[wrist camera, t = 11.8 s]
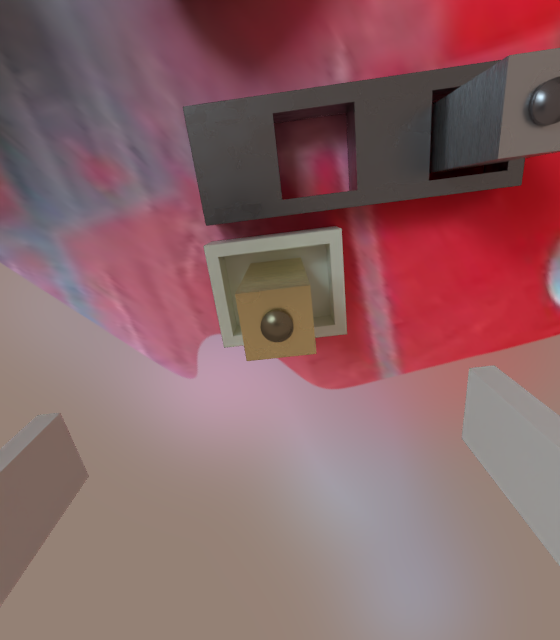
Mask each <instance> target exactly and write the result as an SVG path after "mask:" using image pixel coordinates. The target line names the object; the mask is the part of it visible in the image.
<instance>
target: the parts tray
mask: <svg viewBox="0 0 560 640" xmlns="http://www.w3.org/2000/svg"><path fill="white" fill-rule="evenodd" d="M204 251H205V256H206V261H207V266H208V271H209V276H210V281H211V286H212V291H213V296H214V301H215V306H216V310H217V315H218V320H219V325H220V330H221V335H222V340H223V345H224V348H225V347H234V346H243V345H244V343H243V337H242V331H241V326H240V320H239V315H238V309H237V303H236V298H235V293H236V291H237V289H238V287H239V285H240V283H241V281H242V279H243V277H244V275H245V273H246V271H247V269H248V267H249V265H250V264H251V263H259V262H267V261H275V260H284V259H292V258H300V257H301V260H302V262H303V265H304V268H305V271H306V274H307V277H308V280H309V283H310V288H311V299H312V310H313V321H314V332H315V338H317V337H326V336H335V335H344V334H347V322H346V302H345V283H344V264H343V245H342V229H341V228H339V227H337V226H331V227H323V228H315V229H307V230H299V231H291V232H283V233H275V234H267V235H259V236H251V237H243V238H235V239H227V240H220V241H212V242H210V243H208V244H206V245H204Z"/></svg>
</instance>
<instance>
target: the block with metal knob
mask: <svg viewBox="0 0 560 640" xmlns="http://www.w3.org/2000/svg"><path fill="white" fill-rule="evenodd" d="M235 298H236V303H237V309H238V315H239V320H240V326H241V331H242V337H243V343H244V348H245V353H246V359H247V361H251V360H262V359H271V358H280V357H290V356H299V355H309V354H316V343H315V332H314V321H313V310H312V299H311V288H310V283H309V280H308V277H307V274H306V271H305V268H304V265H303V262H302V260H301V257H300V258H292V259H284V260H275V261H267V262H259V263H251V264H250V265H249V267H248V269H247V271H246V273H245V275H244V277H243V279H242V281H241V283H240V285H239V287H238V289H237V291H236V293H235Z"/></svg>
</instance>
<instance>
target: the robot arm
mask: <svg viewBox="0 0 560 640" xmlns="http://www.w3.org/2000/svg"><path fill="white" fill-rule="evenodd" d="M462 439H463V441H464V442H465V443H466V445H467V446H468V447H469V449H470V450H471V451H472V453H473V454H474V455H475V456H476V458H477V459H478V460H479V462H480V463H481V464H482V465H483V467H484V468H485V470H486V471H487V472H488V473H489V475H490V476H491V477H492V479H493V480H494V481H495V483H496V484H497V485H498V486H499V488H500V489H501V490H502V492H503V493H504V494H505V496H506V497H507V498H508V499H509V501H510V502H511V503H512V505H513V506H514V507H515V509H516V510H517V511H518V513H519V514H520V515H521V516H522V518H523V519H524V520H525V522H526V523H527V524H528V526H529V527H530V528H531V529H532V531H533V532H534V533H535V535H536V536H537V537H538V539H539V540H540V541H541V543H542V544H543V545H544V547H545V548H546V549H547V550H548V552H549V553H550V554H551V556H552V557H553V558H554V560H555V561H556V562H557V563H558V565H559V566H560V416H559V415H558V414H556V413H555V412H554V411H553V410H551V409H550V408H549V407H547V406H546V405H545V404H544V403H542V402H541V401H539V400H538V399H537V398H536V397H535V396H533V395H532V394H531V393H529V392H528V391H527V390H525V389H524V388H523V387H522V386H520V385H519V384H518V383H516V382H515V381H514V380H512V379H511V378H510V377H509V376H507V375H506V374H505V373H503V372H502V371H501V370H500V369H498V368H497V367H496V366H484V367H475V368H469V375H468V385H467V394H466V403H465V412H464V421H463V431H462ZM88 477H89V475H88V473H87V471H86V468H85V466H84V464H83V462H82V460H81V457H80V455H79V453H78V451H77V449H76V446H75V444H74V442H73V440H72V438H71V435H70V433H69V431H68V429H67V426H66V424H65V422H64V420H63V418H62V415H61V413H53V414H44V415H37V417H35V418H34V419H33V420H32V421H31V422H30V423H28V424H27V425H26V426H25V427H24V428H23V429H22V430H21V431H20V432H19V433H18V434H16V435H15V436H14V437H13V438H12V439H11V440H10V441H9V442H8V443H6V444H5V445H4V446H3V447H2V448H1V449H0V607H1V605H2V604H3V602H4V600H5V599H6V598H7V596H8V595H9V593H10V592H11V590H12V589H13V587H14V586H15V585H16V583H17V582H18V580H19V579H20V577H21V576H22V574H23V573H24V571H25V570H26V568H27V567H28V565H29V564H30V562H31V561H32V559H33V558H34V556H35V555H36V554H37V552H38V550H39V549H40V548H41V546H42V545H43V543H44V542H45V540H46V539H47V537H48V536H49V534H50V533H51V531H52V530H53V528H54V527H55V525H56V524H57V522H58V521H59V520H60V518H61V517H62V515H63V514H64V512H65V511H66V509H67V508H68V506H69V505H70V503H71V502H72V500H73V499H74V497H75V496H76V494H77V493H78V491H79V490H80V489H81V487H82V486H83V484H84V483H85V481H86V480H87V478H88Z"/></svg>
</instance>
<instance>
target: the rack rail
mask: <svg viewBox="0 0 560 640" xmlns="http://www.w3.org/2000/svg"><path fill="white" fill-rule="evenodd" d="M500 61H501V60H498V61H491V62H484V63H477V64H470V65H464V66H457V67H450V68H443V69H436V70H430V71H423V72H416V73H409V74H402V75H396V76H389V77H382V78H375V79H369V80H362V81H355V82H348V83H341V84H335V85H328V86H321V87H314V88H307V89H301V90H294V91H287V92H280V93H273V94H267V95H260V96H253V97H246V98H240V99H233V100H226V101H219V102H212V103H206V104H199V105H192V106H185V107H183V111H184V116H185V121H186V126H187V131H188V136H189V141H190V146H191V152H192V157H193V162H194V167H195V172H196V177H197V182H198V187H199V192H200V197H201V203H202V208H203V213H204V218H205V223H206V226H208V225H216V224H223V223H231V222H239V221H247V220H255V219H262V218H270V217H278V216H286V215H293V214H301V213H309V212H317V211H325V210H332V209H340V208H348V207H356V206H363V205H371V204H379V203H387V202H395V201H402V200H410V199H418V198H426V197H434V196H441V195H449V194H457V193H465V192H472V191H480V190H488V189H496V188H504V187H511V186H519V185H521V184H522V177H523V169H524V162H525V158H523V159H517V160H512V161H506V162H500V163H495V164H489V165H484V171H483V174H476V175H469V176H461V177H454V178H446V179H438V180H431V181H429V166H430V140H431V114H432V101H434V100H441V99H442V98H444V97H445V96H447V95H448V94H450V93H451V92H453V91H455V90H456V89H458V88H459V87H461V86H462V85H464V84H465V83H467V82H469V81H470V80H472V79H473V78H475V77H476V76H478V75H479V74H481V73H482V72H484V71H486V70H487V69H489V68H490V67H492V66H493V65H495V64H496V63H498V62H500ZM343 113H346V121H347V145H348V168H349V191H347V192H339V193H331V194H324V195H316V196H308V197H301V198H293V199H286V200H282V193H281V184H280V175H279V166H278V157H277V148H276V140H275V131H274V123H280V122H287V121H294V120H301V119H308V118H315V117H322V116H329V115H336V114H343Z"/></svg>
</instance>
